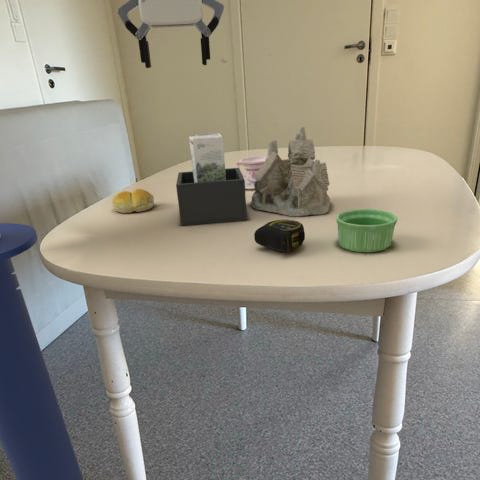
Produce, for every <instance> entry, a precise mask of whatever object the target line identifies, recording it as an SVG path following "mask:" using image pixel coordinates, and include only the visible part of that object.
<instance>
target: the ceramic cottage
mask: <svg viewBox="0 0 480 480" xmlns="http://www.w3.org/2000/svg"><path fill="white" fill-rule="evenodd" d="M315 154H316V150H315V145H314V140H313V138H312V139H307V134H306V129H305V127H304V126H300V127H299V128H298V132H296V133H295V136H294V139H290V140H289V142H288V148H287V158H286V159H282V158H281V157H280V155H279V149H278V141H277V140H276V139H269V141H268V145H267V156H268V157H267V158H266V159H265V160H266V161H264V164H263V165H262V166H261V167H260V170H259V171H258V172H257V173H256V175H254V176H253V177H254V178H255V180H256V182H255V183H254V186H255V188H254V189H253V190H254V192H253V193H252V196H251V202H250V206H251V208H254V209H255V210H257V211H264V212H267V213H268V212H269V213H276V214H279V215H280V214H281V215H284V216H289V217H305V216H310V215H315V216H316V215H324V214H328V212H329V211H330V207H331V204H330V200H331V199H330V196H329V194H328V193H327V192H328V190H329V186H330V179H329V174H328V168H327V163H326V161H325V162H321V160H320V159H316V155H315Z"/></svg>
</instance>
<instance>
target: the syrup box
mask: <svg viewBox="0 0 480 480" xmlns="http://www.w3.org/2000/svg"><path fill="white" fill-rule="evenodd" d="M188 139H189V149H190V158H191V166H192V167H191V169H192V171H193V178H194V183H198V182H210V181H223V180H226V175H225V169H226V161H225V159H226V158H225V146H224V145H225V144H224V136H222V134H221V133H219V132H212V133H211V132H210V133H200V134H191V135H190V134H189V136H188Z"/></svg>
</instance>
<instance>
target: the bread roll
mask: <svg viewBox="0 0 480 480" xmlns="http://www.w3.org/2000/svg"><path fill="white" fill-rule="evenodd" d="M111 205H112V209H113V210H114V211H116V212H118V213H122V214H130V213H132V214H133V213H134V212H136V213H141V212H146V211H148V210H150V209H152V208H153V207H154V205H155V197H154V195H153V194H152V193H150V192H149V191H147V190H146V189H143V188H136V189H135V190H133V191H132V192H130V191H121V192H118V193H117V194H116V195H114V196H113V198H112V201H111Z"/></svg>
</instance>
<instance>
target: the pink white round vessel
mask: <svg viewBox="0 0 480 480" xmlns="http://www.w3.org/2000/svg"><path fill="white" fill-rule="evenodd" d="M267 157H268V155H267V156H265V155H261V156H260V155H259V156H247V157H243V158H240V159H239V161H238V162H236V165H237V167H236V168H239V169H240V170H241V168H240V166H241V167H243V168H244V170H245V174H244V173H243V172H242V171H241V174H242V176H243V178H244V180H245V190H255V189H254V188H255V186H254V183H255V182H256V180H255V178H254V177H253V176H254V175H256V173H257V172H258V171H259V170H260V167H261V166H262V165H263V164H264V161H266V160H265V159H266V158H267Z"/></svg>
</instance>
